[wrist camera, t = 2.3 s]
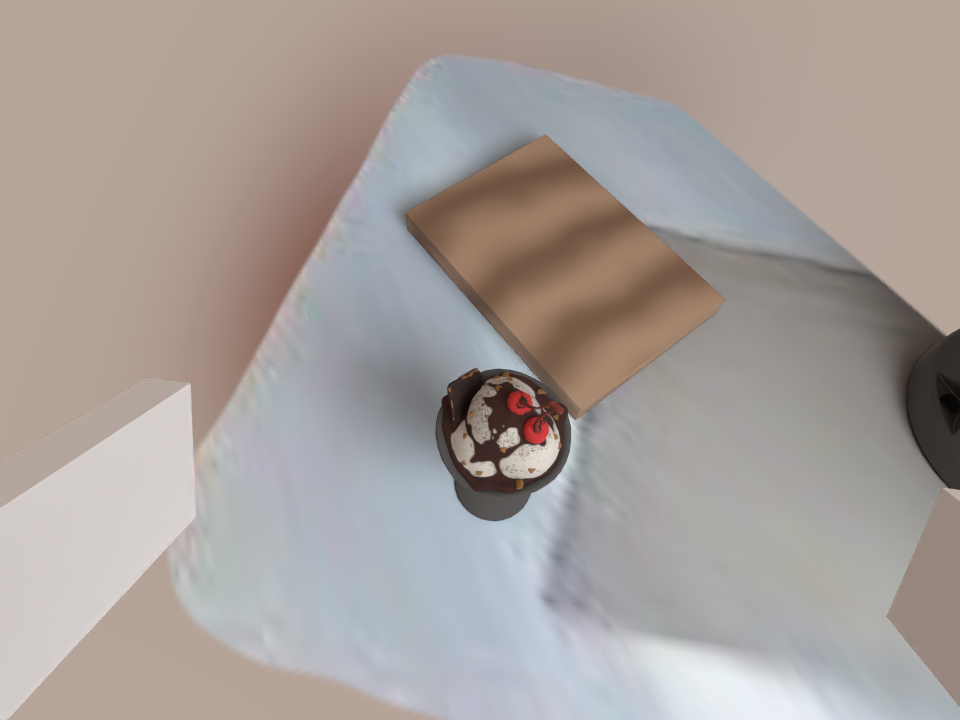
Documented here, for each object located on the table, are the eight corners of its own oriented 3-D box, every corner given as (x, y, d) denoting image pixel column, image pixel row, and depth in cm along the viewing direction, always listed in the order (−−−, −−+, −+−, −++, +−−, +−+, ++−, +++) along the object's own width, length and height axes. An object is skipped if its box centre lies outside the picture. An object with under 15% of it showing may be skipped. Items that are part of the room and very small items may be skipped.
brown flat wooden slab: (715, 313, 44) (726, 299, 42) (575, 420, 40) (580, 409, 38) (542, 152, 50) (545, 134, 49) (407, 229, 46) (405, 212, 45)
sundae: (559, 519, 37) (616, 446, 23) (455, 546, 36) (452, 487, 22) (529, 422, 40) (564, 307, 26) (432, 446, 39) (416, 339, 25)
